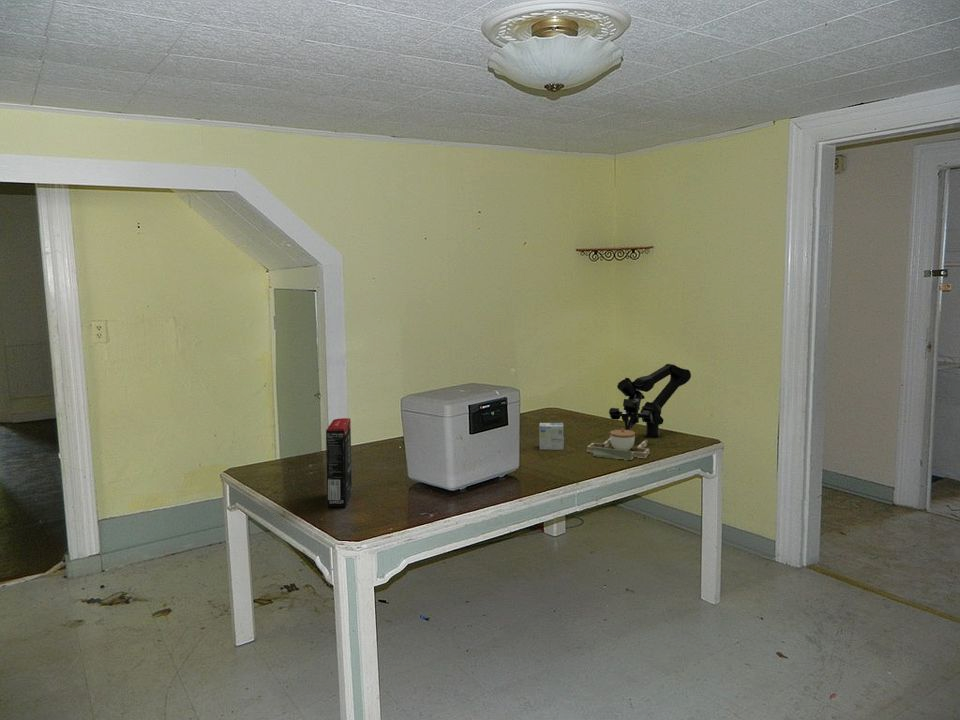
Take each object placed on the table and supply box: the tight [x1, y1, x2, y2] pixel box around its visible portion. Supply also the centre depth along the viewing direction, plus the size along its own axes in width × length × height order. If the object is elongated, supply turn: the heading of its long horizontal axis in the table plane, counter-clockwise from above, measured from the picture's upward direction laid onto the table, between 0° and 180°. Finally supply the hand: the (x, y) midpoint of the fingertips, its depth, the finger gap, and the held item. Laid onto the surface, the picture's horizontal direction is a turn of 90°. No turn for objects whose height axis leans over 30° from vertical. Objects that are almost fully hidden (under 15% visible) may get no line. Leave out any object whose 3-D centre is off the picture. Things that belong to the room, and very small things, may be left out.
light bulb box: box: [538, 422, 565, 451], centre depth 311 cm, size 11×7×11 cm, turn 84°
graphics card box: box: [325, 417, 353, 508], centre depth 243 cm, size 17×7×27 cm, turn 4°
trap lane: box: [586, 437, 651, 461], centre depth 306 cm, size 28×25×4 cm
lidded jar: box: [609, 427, 636, 451], centre depth 307 cm, size 11×11×9 cm
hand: (626, 430), depth 314 cm, fingers closed
